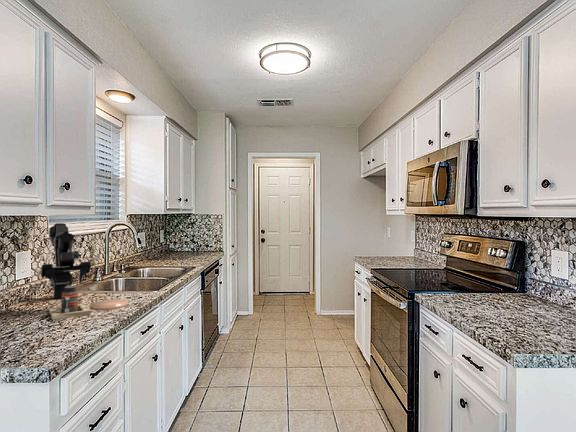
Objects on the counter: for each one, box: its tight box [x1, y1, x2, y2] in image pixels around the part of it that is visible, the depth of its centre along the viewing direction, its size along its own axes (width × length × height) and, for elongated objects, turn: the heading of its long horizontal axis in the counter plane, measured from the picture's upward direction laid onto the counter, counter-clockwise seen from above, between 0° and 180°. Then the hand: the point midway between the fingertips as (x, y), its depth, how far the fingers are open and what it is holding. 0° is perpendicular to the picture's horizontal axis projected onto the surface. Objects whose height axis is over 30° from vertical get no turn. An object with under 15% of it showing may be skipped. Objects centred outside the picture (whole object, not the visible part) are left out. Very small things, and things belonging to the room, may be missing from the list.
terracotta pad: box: [91, 298, 129, 311], centre depth 163 cm, size 15×15×1 cm
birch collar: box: [48, 303, 91, 321], centre depth 150 cm, size 13×13×2 cm
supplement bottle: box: [60, 285, 79, 314], centre depth 150 cm, size 6×6×11 cm
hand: (68, 284), depth 154 cm, fingers open, 9 cm apart
